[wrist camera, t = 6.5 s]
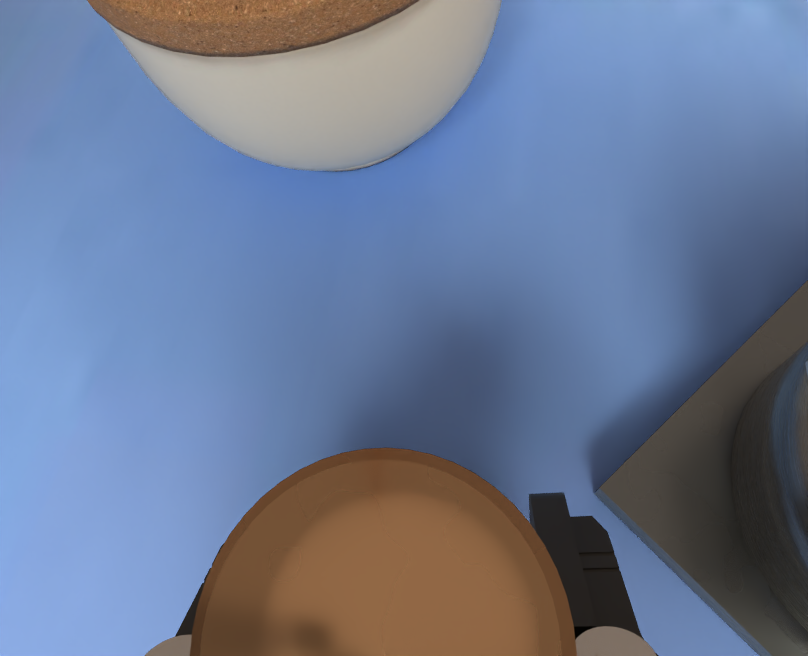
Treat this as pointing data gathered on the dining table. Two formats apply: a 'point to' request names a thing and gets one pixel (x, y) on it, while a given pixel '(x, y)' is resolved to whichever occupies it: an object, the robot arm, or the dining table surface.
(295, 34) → the lidded bowl
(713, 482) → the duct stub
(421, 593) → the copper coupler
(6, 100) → the dining table surface
